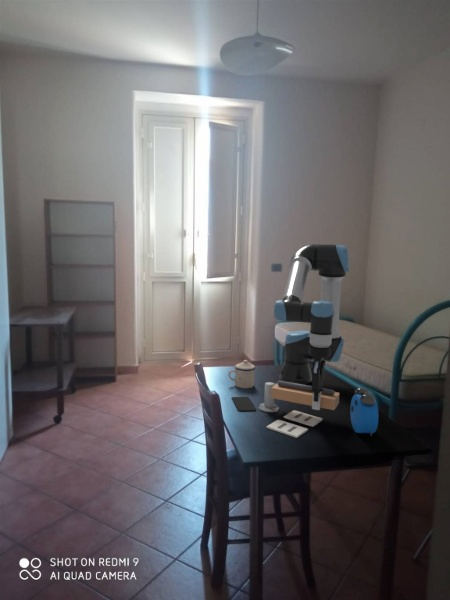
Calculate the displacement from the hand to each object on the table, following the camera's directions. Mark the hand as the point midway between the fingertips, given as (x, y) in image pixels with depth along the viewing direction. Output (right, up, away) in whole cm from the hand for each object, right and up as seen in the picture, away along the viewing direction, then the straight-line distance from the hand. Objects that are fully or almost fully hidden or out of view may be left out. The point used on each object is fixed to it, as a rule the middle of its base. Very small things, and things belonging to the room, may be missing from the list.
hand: (316, 408), depth 160 cm
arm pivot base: (-16, -3, +15) cm, 22 cm away
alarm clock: (+15, -7, -4) cm, 18 cm away
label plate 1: (-11, -6, -4) cm, 13 cm away
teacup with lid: (-26, 0, +41) cm, 48 cm away
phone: (-25, -3, +18) cm, 31 cm away
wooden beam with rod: (-5, -3, +9) cm, 11 cm away
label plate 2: (-4, -5, +6) cm, 8 cm away
